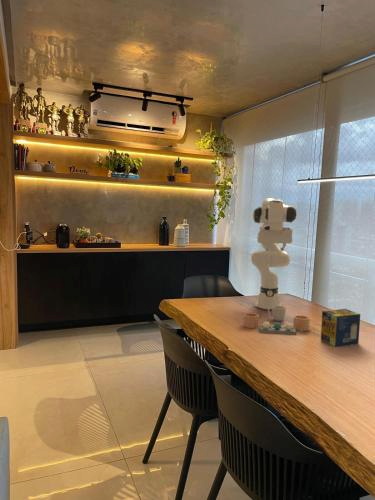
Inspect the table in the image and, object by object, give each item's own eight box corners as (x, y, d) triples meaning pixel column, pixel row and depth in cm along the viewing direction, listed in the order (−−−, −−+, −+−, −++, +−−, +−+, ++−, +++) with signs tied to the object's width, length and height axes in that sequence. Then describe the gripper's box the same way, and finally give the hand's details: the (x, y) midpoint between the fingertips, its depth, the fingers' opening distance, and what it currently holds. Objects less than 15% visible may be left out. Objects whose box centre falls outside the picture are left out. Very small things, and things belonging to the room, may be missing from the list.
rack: (260, 332, 202) (260, 329, 201) (259, 328, 209) (259, 325, 209) (296, 334, 199) (296, 331, 199) (293, 329, 207) (293, 327, 207)
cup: (265, 320, 226) (266, 307, 225) (269, 316, 233) (269, 304, 232) (283, 322, 221) (284, 309, 220) (286, 319, 228) (287, 306, 227)
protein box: (320, 340, 191) (321, 310, 189) (343, 337, 196) (345, 308, 195) (334, 347, 181) (336, 316, 179) (359, 343, 186) (361, 313, 185)
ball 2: (273, 328, 206) (273, 321, 206) (280, 328, 206) (280, 321, 206) (273, 330, 202) (274, 323, 202) (281, 330, 202) (281, 323, 202)
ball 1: (262, 327, 207) (262, 320, 207) (269, 327, 207) (269, 320, 206) (262, 329, 203) (263, 322, 203) (270, 330, 203) (270, 322, 202)
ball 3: (284, 328, 206) (284, 321, 205) (291, 329, 205) (291, 322, 205) (285, 330, 202) (285, 323, 201) (292, 331, 201) (293, 324, 201)
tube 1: (243, 323, 218) (243, 312, 217) (258, 324, 217) (258, 313, 216) (243, 327, 209) (243, 316, 209) (259, 328, 208) (259, 317, 208)
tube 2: (292, 326, 214) (292, 314, 214) (307, 326, 213) (308, 315, 213) (294, 330, 206) (295, 319, 205) (310, 331, 205) (311, 319, 204)
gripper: (290, 227, 221) (289, 250, 223) (256, 227, 219) (256, 250, 220) (294, 227, 215) (293, 251, 216) (260, 227, 213) (259, 251, 214)
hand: (274, 250), depth 218 cm, fingers open, 8 cm apart
